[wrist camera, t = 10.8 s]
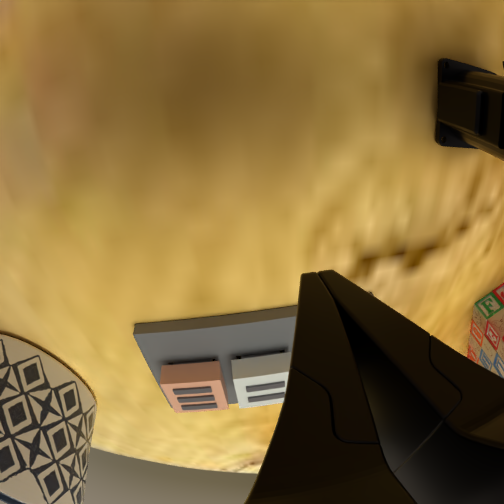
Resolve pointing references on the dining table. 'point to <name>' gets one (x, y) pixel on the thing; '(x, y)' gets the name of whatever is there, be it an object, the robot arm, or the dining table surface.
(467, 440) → the robot arm
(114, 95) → the dining table surface
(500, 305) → the stack of blocks
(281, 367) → the tile
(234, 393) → the board
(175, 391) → the slotted block
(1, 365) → the planter
